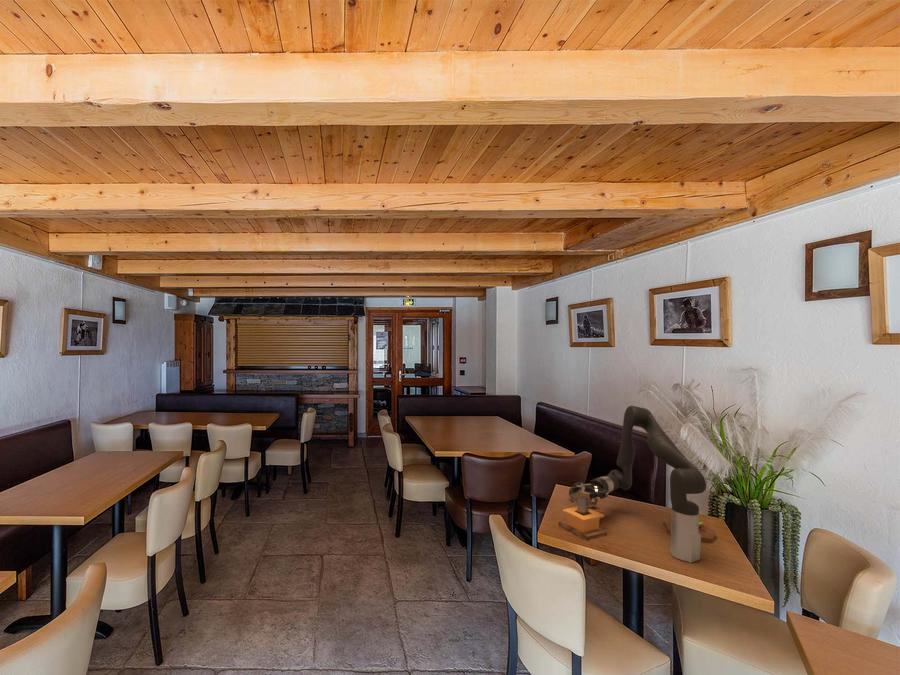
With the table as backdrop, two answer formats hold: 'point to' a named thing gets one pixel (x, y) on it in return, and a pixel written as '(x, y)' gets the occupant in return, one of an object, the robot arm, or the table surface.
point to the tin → (578, 494)
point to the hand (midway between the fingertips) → (581, 493)
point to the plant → (705, 531)
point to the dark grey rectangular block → (583, 506)
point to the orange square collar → (583, 519)
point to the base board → (585, 535)
